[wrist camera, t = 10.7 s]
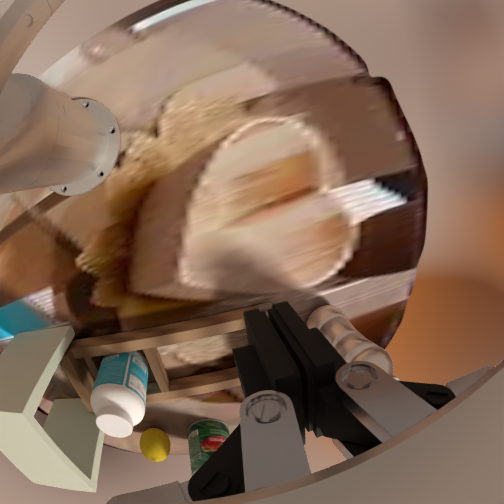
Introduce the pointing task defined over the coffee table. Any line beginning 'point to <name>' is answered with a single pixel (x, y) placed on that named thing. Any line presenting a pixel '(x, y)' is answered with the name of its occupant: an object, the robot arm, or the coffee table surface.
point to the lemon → (155, 444)
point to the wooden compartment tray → (155, 356)
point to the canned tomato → (205, 440)
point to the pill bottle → (120, 393)
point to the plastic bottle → (348, 338)
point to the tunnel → (58, 421)
